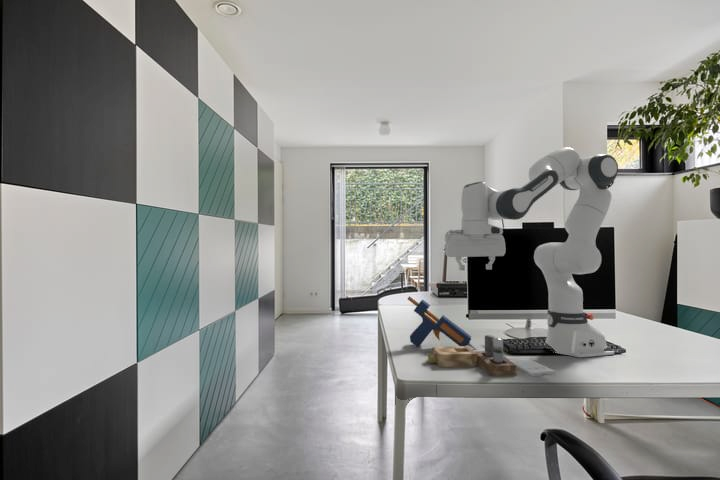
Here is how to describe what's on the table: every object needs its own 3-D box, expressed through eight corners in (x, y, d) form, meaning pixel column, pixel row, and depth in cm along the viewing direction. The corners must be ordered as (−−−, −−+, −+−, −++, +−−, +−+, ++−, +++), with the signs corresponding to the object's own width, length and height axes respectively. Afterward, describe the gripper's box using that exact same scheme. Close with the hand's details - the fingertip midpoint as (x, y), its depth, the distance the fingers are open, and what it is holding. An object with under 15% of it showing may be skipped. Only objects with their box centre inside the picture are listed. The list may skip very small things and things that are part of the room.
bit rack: (497, 359, 136) (496, 333, 136) (516, 375, 121) (516, 345, 121) (473, 360, 136) (473, 333, 136) (490, 375, 121) (489, 345, 121)
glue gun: (455, 377, 149) (480, 346, 146) (387, 325, 153) (410, 294, 151) (455, 370, 155) (479, 340, 152) (389, 321, 159) (412, 291, 157)
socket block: (467, 357, 139) (467, 346, 139) (476, 366, 130) (476, 353, 130) (433, 358, 138) (433, 346, 138) (439, 367, 129) (439, 354, 129)
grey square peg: (500, 369, 127) (500, 337, 127) (504, 372, 124) (504, 339, 124) (491, 369, 127) (491, 337, 126) (495, 372, 124) (495, 340, 123)
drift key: (451, 360, 136) (451, 351, 136) (454, 363, 132) (454, 354, 132) (427, 360, 135) (427, 352, 135) (429, 363, 132) (429, 355, 132)
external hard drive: (528, 363, 135) (555, 375, 123) (506, 365, 133) (532, 378, 121) (528, 358, 135) (555, 370, 123) (506, 360, 133) (532, 372, 121)
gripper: (447, 229, 135) (448, 271, 135) (507, 228, 136) (507, 270, 137) (442, 230, 141) (443, 269, 141) (499, 229, 143) (500, 268, 143)
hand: (475, 269), depth 139 cm, fingers open, 8 cm apart
